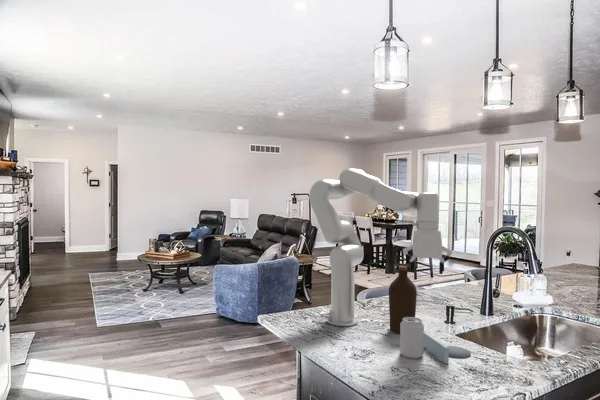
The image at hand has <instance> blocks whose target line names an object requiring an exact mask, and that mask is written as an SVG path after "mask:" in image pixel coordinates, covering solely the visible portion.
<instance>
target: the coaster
mask: <svg viewBox="0 0 600 400" xmlns="http://www.w3.org/2000/svg"><path fill="white" fill-rule="evenodd" d="M446 346H447V347H449V358H452V359H454V358H455V359H467V358H470V357H471V355H472V353H471V351H470V350H468V349H467V348H464V347H461V346H455V345H446Z"/></svg>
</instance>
